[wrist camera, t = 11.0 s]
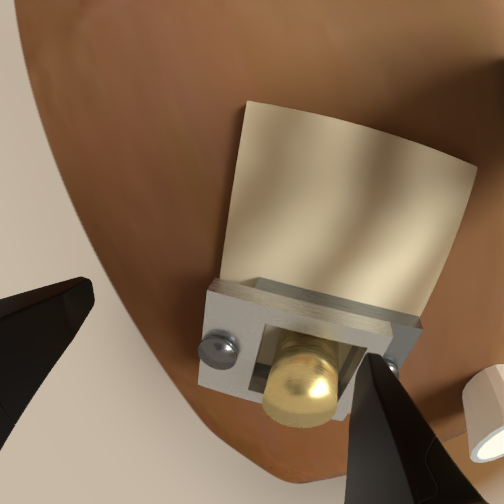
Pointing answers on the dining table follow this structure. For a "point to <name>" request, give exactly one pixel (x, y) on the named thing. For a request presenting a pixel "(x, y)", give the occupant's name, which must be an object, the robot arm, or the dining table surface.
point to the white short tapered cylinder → (485, 414)
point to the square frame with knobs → (296, 319)
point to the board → (340, 212)
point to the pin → (302, 380)
